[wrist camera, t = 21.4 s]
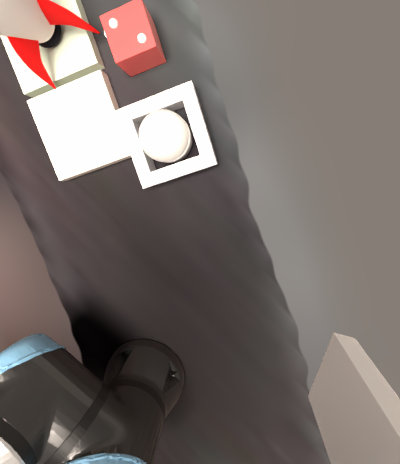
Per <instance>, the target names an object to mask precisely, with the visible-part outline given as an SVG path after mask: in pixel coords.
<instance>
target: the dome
mask: <svg viewBox="0 0 400 464" xmlns="http://www.w3.org/2000/svg"><path fill="white" fill-rule="evenodd" d="M139 142H140V145H141V147H142V149H143V150H144V152H145V153H146V154H147V155H148V156H149V157H150V158H152V159H154V160H156V161H159V162H167V163H174V162H178V161H180V160H182V159H183V158H185V157H186V156H187V154H188V153H189V151H190V150H191V147H192V143H193V135H192V131H191V128H190V127H189V125H188V124H187V122H186V121H185V120H184V119H183V118H182V117H181V116H179V115H178V114H177V113H175V112H173V111H170V110H166V109H160V110H156V111H153V112H151V113H150V114H148V115H147V116H146V117H145V118H144V119H143V121H142V123H141V125H140V128H139Z"/></svg>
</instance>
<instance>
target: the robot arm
mask: <svg viewBox="0 0 400 464" xmlns="http://www.w3.org/2000/svg"><path fill="white" fill-rule="evenodd" d="M65 349H66V348H65V347H64V346H61V345H59V344H57V343H56V342H55V341H53V340H52V339H51V338H49V337H48V336H47V335H45V334H33V335H30V336H27V337H25V338H23V339H21V340H19V341H18V342H16V343H15V344H13V345H11V346H10V347H8V348H7V349H5V350H4V351H3V352H1V353H0V464H153V462H154V458H155V454H156V450H157V447H158V443H159V439H160V435H161V432H162V428H163V424H164V420H165V418H166V417H167V415H168V414H169V413H170V411H171V410H172V409H173V407H174V406H175V404H176V403H177V402H178V400H179V398H180V396H181V393H182V390H183V385H184V379H185V375H184V369H183V366H182V364H181V362H180V360H179V359H178V357H177V356H176V355H175V353H174V352H173V351H171V350H170V349H169V348H168V347H166V346H165V345H163V344H161V343H158V342H156V341H152V340H146V339H138V340H132V341H129V342H127V343H125V344H123V345H121V346H120V347H119V348H118V349H117V350H116V351H115V352H114V354H113V355H112V357H111V358H110V360H109V362H108V364H107V367H106V370H105V375H104V381H103V382H102V381H101V380H100V379H99V378H98V377H97V376H95V375H94V374H93V373H92V372H91V371H90V370H89V369H87V368H86V367H85V366H84V365H83V364H81V363H80V362H79V361H78V360H77V359H76V358H75V357H73V356H72V355H71V354H70V353H69V352H68V351H67V350H65ZM308 397H309V400H310V403H311V406H312V409H313V412H314V415H315V418H316V421H317V424H318V427H319V430H320V433H321V436H322V439H323V442H324V444H325V447H326V450H327V453H328V456H329V459H330V462H331V464H400V399H399V398H398V396H397V395H396V393H395V392H394V391H393V390H392V388H391V387H390V385H389V384H388V382H387V381H386V380H385V378H384V377H383V376H382V374H381V373H380V372H379V370H378V369H377V368H376V366H375V365H374V363H373V362H372V361H371V359H370V358H369V357H368V355H367V354H366V352H365V351H364V350H363V349H362V347H361V346H360V344H359V343H358V342H357V340H356V339H355V338H352V337H348V336H345V335H341V334H337V333H333V335H332V338H331V340H330V343H329V345H328V348H327V350H326V353H325V355H324V358H323V360H322V363H321V365H320V368H319V370H318V373H317V375H316V378H315V380H314V383H313V385H312V388H311V390H310V393H309V395H308Z"/></svg>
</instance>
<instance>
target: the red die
mask: <svg viewBox="0 0 400 464" xmlns="http://www.w3.org/2000/svg"><path fill="white" fill-rule="evenodd" d="M100 19H101V22H102V25H103V28H104V35H105V37H106V38H107V39H108V42H109V45H110V48H111V51H112V54H113V57H114V60H115V63H116V64H117V65H118V66H119V67H121V68H122V69H123V70H124V71H125V72H126V73H127V74H128V75H129V76H131V77H132V76H134V75H137V74H139V73H141V72H144V71H146V70H149V69H151V68H154V67H156V66H158V65H161V64H163V63H166V59H165V56H164V53H163V50H162V46H161V43H160V40H159V37H158V34H157V31H156V28H155V24H154V21H153V19H152V17H151V15H150V14H149V12H148V10H147V8H146V6H145V4H144V3H143V1H142V0H134V1H131V2H129V3H127V4H125V5H123V6H121V7H119V8H116V9H114V10H112V11H110V12H108V13H106V14H103V15H101V16H100Z"/></svg>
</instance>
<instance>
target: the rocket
mask: <svg viewBox="0 0 400 464" xmlns="http://www.w3.org/2000/svg"><path fill="white" fill-rule="evenodd" d="M61 25H70V26H74V27H78V28H81V29H84V30H88V31H91V32H94V33H98V34H100V32H98V31H97V30H96V29H95V28H93V27H92V26H91V25H89V24H88V23H87V22H85V21H84V20H83V19H81V18H80V17H79V16H77V15H76V14H74V13H73V12H71V11H69V10H68V9H66V8H64V7H62V6H60V5H58V4H56V3H54V2H52V1H50V0H0V35H2V36H6V37H8V40H9V42H10V44H11V45H12V47H13V49H14V50H15V52H16V53H17V55H18V56H19V57H20V59H21V60H22V61H23V62H24V63H25V64H26V65H27V67H28V68H29V69H30V70H32V71H33V72H34V73H35V74H36V75H37V76H39V77H40V78H41V79H42V80H44V81H45V82H46V83H48V84H49V85H50V86H52V87H53V88H54V89H56V87H55V85H54V83H53V82H52V80H51V78H50V76H49V75H48V73H47V71H46V69H45V67H44V65H43V63H42V60H41V55H40V49H39V46H41V47H44V48H51V47H53V46H55V45H56V44H57V43H58V41H59V40H60V37H61Z"/></svg>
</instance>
